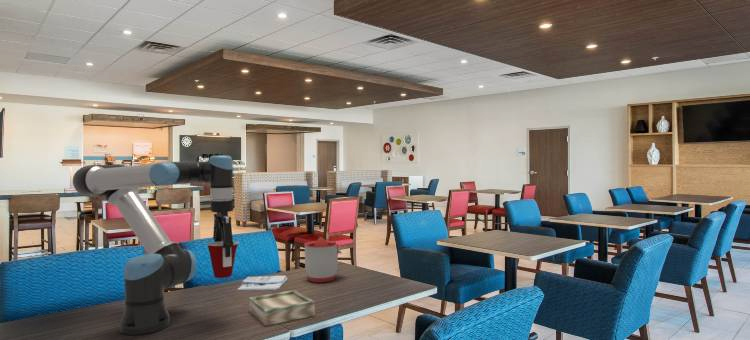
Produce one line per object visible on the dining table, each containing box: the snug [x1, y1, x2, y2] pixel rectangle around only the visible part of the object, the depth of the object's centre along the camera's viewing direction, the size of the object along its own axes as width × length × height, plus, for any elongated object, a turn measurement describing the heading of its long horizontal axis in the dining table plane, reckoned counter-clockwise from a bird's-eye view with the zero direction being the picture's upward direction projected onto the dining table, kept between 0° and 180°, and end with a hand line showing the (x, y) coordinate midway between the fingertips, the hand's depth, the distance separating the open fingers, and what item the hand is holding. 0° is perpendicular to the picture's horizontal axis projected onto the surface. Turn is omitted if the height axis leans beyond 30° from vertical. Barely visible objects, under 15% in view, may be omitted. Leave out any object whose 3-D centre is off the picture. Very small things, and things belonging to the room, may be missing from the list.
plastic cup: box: [205, 240, 240, 279], centre depth 159 cm, size 11×11×12 cm
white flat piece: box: [236, 275, 288, 291], centre depth 205 cm, size 19×20×2 cm
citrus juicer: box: [303, 236, 343, 283], centre depth 211 cm, size 16×17×20 cm
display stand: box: [248, 289, 316, 327], centre depth 165 cm, size 18×18×5 cm
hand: (223, 263), depth 159 cm, fingers closed on plastic cup, 11 cm apart
